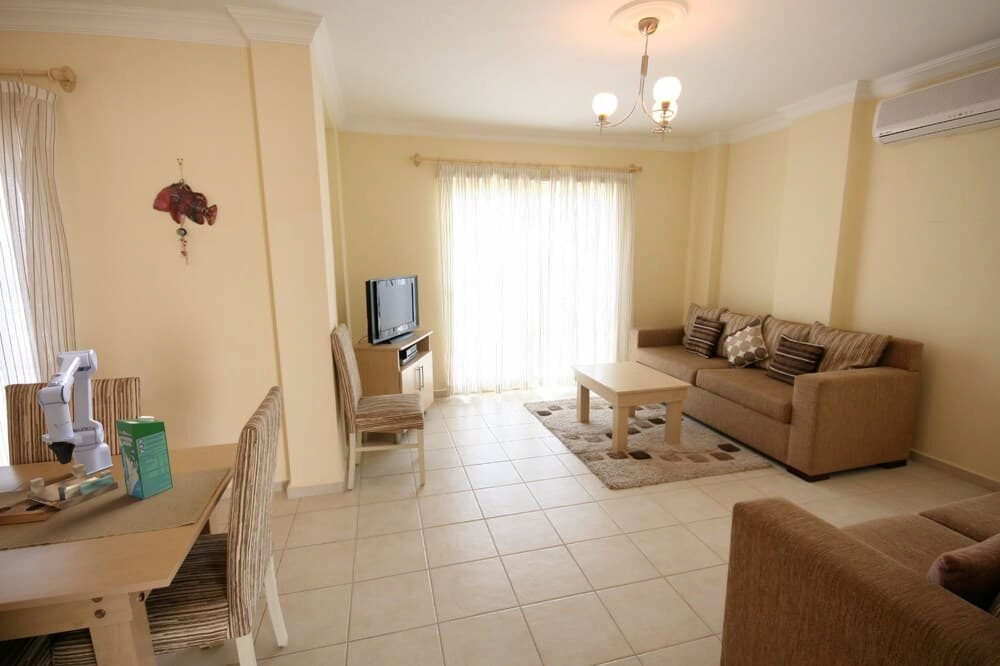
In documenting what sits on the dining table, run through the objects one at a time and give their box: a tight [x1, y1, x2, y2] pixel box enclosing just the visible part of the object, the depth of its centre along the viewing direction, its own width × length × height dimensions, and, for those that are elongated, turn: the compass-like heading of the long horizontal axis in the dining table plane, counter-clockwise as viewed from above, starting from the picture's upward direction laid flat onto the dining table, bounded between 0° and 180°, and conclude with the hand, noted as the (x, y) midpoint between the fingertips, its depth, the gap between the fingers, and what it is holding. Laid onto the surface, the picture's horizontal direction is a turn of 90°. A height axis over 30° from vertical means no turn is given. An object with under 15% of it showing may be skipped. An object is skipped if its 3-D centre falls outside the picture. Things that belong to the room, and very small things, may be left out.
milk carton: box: [115, 415, 174, 500], centre depth 149 cm, size 9×9×25 cm
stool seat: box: [26, 464, 119, 511], centre depth 149 cm, size 15×19×6 cm
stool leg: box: [58, 476, 99, 500], centre depth 145 cm, size 10×2×4 cm, turn 158°
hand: (66, 463), depth 149 cm, fingers closed
